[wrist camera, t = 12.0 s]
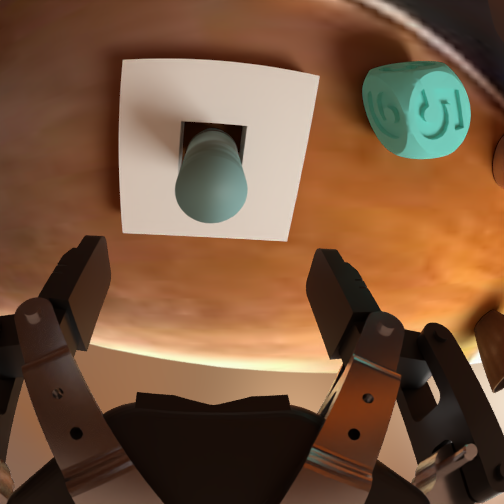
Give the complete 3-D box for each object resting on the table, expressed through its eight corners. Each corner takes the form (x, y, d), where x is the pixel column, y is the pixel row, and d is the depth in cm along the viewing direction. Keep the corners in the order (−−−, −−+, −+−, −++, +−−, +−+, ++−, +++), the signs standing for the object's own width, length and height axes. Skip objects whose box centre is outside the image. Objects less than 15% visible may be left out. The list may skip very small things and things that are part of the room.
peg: (237, 125, 26) (253, 158, 16) (232, 167, 28) (243, 226, 18) (191, 121, 25) (175, 153, 15) (188, 165, 28) (173, 222, 18)
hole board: (307, 75, 24) (319, 76, 21) (279, 224, 32) (286, 241, 30) (133, 61, 21) (122, 59, 18) (130, 216, 30) (122, 233, 27)
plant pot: (487, 337, 57) (515, 381, 44) (451, 349, 56) (482, 401, 42) (514, 293, 49) (549, 338, 36) (481, 302, 48) (521, 356, 34)
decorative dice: (428, 125, 27) (475, 146, 21) (372, 143, 28) (414, 168, 22) (414, 59, 23) (464, 64, 16) (352, 72, 24) (396, 75, 17)
